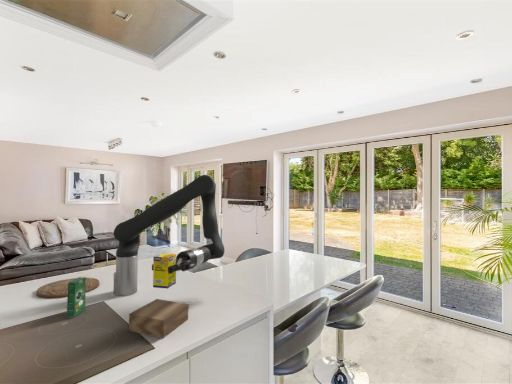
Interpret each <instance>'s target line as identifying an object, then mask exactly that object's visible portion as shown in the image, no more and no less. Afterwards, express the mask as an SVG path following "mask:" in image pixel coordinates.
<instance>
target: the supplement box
mask: <svg viewBox="0 0 512 384" xmlns="http://www.w3.org/2000/svg"><path fill="white" fill-rule="evenodd" d="M176 257H177V254H176V253H167V252H166V253H164V252H163V253H161V254H157V255H155V256H153V263H152V264H153V270H152V272H153V273H152V274H153V275H152V276H153V277H152V279H153V280H152V281H153V283H152V287H153V288H157V289H169V288H171V287H172V286H174V285H176V283H177V271H175V272H172V273H168V267H169V266H172V265H175V264H176Z"/></svg>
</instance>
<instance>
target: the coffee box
mask: <svg viewBox="0 0 512 384" xmlns="http://www.w3.org/2000/svg"><path fill="white" fill-rule="evenodd" d="M75 278H76V279H74V280H72V281H70V282H68V297H66V298H67V300H66V301H67V306H66V318H67V319H74V318H75V317H77V316H78V315H79V314H80V313H82V312H84V311H85V310H86V293H85V287H86V278H87V277H86V276H78V277H75Z"/></svg>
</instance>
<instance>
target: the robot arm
mask: <svg viewBox="0 0 512 384" xmlns="http://www.w3.org/2000/svg"><path fill="white" fill-rule="evenodd" d="M216 189H217V185H216V182H215V180H214V178H213V177H212V176H210V175H208V174H202V175H199V176H198V177H196V178H195V179H193V180H192V181H191V182H189V183H188V184H187V185H185V186H183V187H182V188H180V189H179V190H176V191H174V192H173V193H171V194H169V195H168V196H165V197H164V198H162V199H160V200H158V201H156V203H154V204H152V205H151V206H149V207H148V208H146V209H145V210H144V211H141V212H140V213H139V214H137V215H136V216H134V217H131V218H129V219H127V220H125V221H121V222H120V223H118V224H117V225H116V226H115V227H114V230H113V237H114V239H115V240H116V241H118V246H117V249H116V251H115V272H114V273H113V294H114V295H116V296H123V297H124V296H131V295H133V294H136V293H137V292H138V273H139V272H138V270H139V269H138V267H139V266H138V265H139V264H138V263H139V262H138V261H139V259H138V258H139V255H138V254H139V249H140V238H141V234H140V233H141V232H143V231H145V230H146V229H148V228H150V227H152V226H154V225H157V224H160V223H162V222H164V221H166V220H167V219H170V218H171V217H173V216H175V215H177V213H179V212H180V211H181V210H183V209H184V208H185V207H186V205H188V203H190V202H191V201H193V200H194V199H197V198H198V197H200V199H201V203H202V232H203V237H204V239H206V240H211V242H212V243H207V244H204V245H201V246H200V247H196V248H190V249H187V250H182V251H180V252H179V253H178V254H176V264H175V265H172V266H169V267H168V273H172V272H175V271H176V272H180V271H181V272H186V271H188V270H192V269H194V268H196V267H198V266H200V265H203V264H205V263H207V262H208V261H210V260H216V259H221V258H223V256H224V255H225V246H224V243H223V241H222V238H221V236H220V233H219V224H218V217H217V211H216ZM151 270H152V271H153V263H152V264H151ZM113 294H112V295H113Z"/></svg>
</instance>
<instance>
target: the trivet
mask: <svg viewBox="0 0 512 384" xmlns="http://www.w3.org/2000/svg"><path fill="white" fill-rule="evenodd" d="M76 278H77V277H73V278H65V279H61V280H56V281H53V282H50V283H46V284H44V285H42V286H39V288H37V289H36V296H37V297H39V298H41V299H63V298H68V282H70V281H72V280H74V279H76ZM99 286H100V280H99V279H97V278H94V277H86V287H85V294H86V293H90V292H91V291H94V290H96V289H97V288H99Z"/></svg>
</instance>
